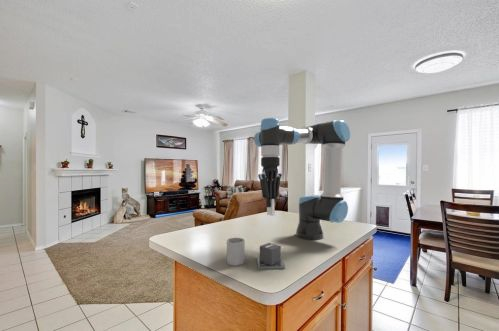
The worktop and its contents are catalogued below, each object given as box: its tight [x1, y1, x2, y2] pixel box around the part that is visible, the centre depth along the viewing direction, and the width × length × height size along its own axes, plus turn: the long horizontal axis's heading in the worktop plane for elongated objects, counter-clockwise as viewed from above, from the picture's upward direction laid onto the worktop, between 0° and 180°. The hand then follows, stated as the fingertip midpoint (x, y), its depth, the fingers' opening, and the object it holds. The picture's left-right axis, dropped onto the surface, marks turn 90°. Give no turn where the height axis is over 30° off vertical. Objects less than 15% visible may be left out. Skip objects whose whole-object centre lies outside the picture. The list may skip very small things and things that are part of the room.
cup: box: [226, 237, 246, 267], centre depth 93 cm, size 7×10×9 cm
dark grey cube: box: [259, 242, 282, 265], centre depth 91 cm, size 6×6×6 cm
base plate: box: [256, 256, 286, 270], centre depth 91 cm, size 10×10×4 cm
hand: (270, 214), depth 91 cm, fingers closed
